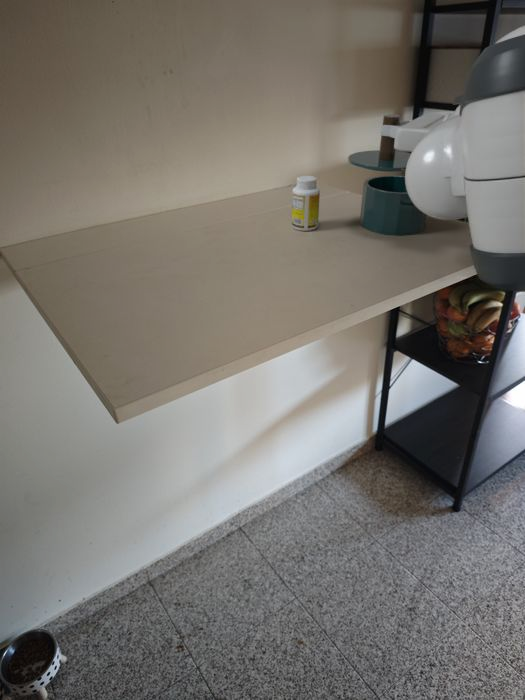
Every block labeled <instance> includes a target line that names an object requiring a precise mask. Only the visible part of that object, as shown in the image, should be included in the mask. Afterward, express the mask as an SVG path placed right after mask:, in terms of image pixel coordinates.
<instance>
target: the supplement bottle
mask: <svg viewBox="0 0 525 700" xmlns="http://www.w3.org/2000/svg"><path fill="white" fill-rule="evenodd" d="M320 193H321V190H320V188H319V187H318V186H317V177H315V176H312V175H301V176H298V177H297V178H296V186H294V187H293V189H292V198H291V199H292V200H291V202H292V203H291V206H292V207H291V226H292V228H293V229H295V230H297V231H300V232H310V231H313V230H315V229H317V228H318V227H319V213H320V197H321V196H320Z"/></svg>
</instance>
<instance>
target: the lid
mask: <svg viewBox="0 0 525 700" xmlns="http://www.w3.org/2000/svg"><path fill="white" fill-rule="evenodd" d="M382 118H383V119H382V126H383V125H385V124H391V125H395V126H399V123H400V121H401V116H400V115H399V114H384V115H383V117H382ZM394 141H395V138H392V137H390V136H382V135H381V134H380V144H379V149H378V150H364V151H363V150H362V151H357V152H354V153H352V154H349V156H348V157H347V161H348V163H349V164H350V165H353V166H355V167H358V168H362V169H365V170H370V171H375V172H376V171H377V172H390V173H391V172H405V170H406V166H407V162H408V159H409V157H410V155H411V153H412V152H406V151H399V150H396V149H394Z"/></svg>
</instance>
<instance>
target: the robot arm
mask: <svg viewBox="0 0 525 700" xmlns="http://www.w3.org/2000/svg"><path fill="white" fill-rule="evenodd" d="M452 105H453V106H454V105H458V106H457V107H456V109H455V110H451V111H448V110H447V111H430V112H426V113H424V114H422V115H420V116H418V117H416V118H414V119H408V120H400V123H399V126H395V125H391V124H385V125H383V124H382V125H381V127H380V136H381V135H382V136H390V137H392V138H395V141H394V149H396V151H399V152H406V153H411V155H410V157H409V159H408V162H407V166H406V170H405V171H404V176H405V185H406V190H407V192H408V195H409V197H410V199H411V201H412V202H413V204H414V205H415V206H416V207H417V208H418V209H419V210H420V211H422V212H423V213H425V214H426V215H427V217H431V218H433V219H437V220H443V221H446V220H447V221H451V220H453V221H454V220H460V219H466V218H467V220H468V226H469V231H470V237H471V242H472V243H471V244H470V245H469V252H470V256H471V261H472V264H473V266H474V270H475V272H476V274H477V276H478V278H479V280H480V281H481V282H483V283H485V284H487V285H489V286H490V287H492V288H495V289H498V290H502V291H508V292H518V293H525V25H522V26H520V27H517V28H516V29H514V30H513V31H510V32H509V33H507V34H505V35H504V36H503V37H501V38H500V39H498V40H497V41H496V42H495V43H493V44H491V45H489V46H486V47H485V48H484V49H483V50H482V51H481V53H480V55H479V56H478V57H477V58H476V60H475V61H474V63H473V65H472V66H471V67H470V69H469V71H468V73H467V77H466V80H465V83H464V86H463V90H462V92H461V94H459V95H457V96H455V97H454V100H453V103H452Z"/></svg>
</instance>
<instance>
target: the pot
mask: <svg viewBox="0 0 525 700" xmlns="http://www.w3.org/2000/svg"><path fill="white" fill-rule="evenodd" d="M362 185H363V188H362V195H361V204H360V215H359V224H360V226H361V227H362V228H364V229H365V230H368V231H369V232H372V233H376V234H380V235H388V236H409V235H415V234H418V233H420V232H422V231H424V230H425V228H426V224H427V223H426V222H427V217H428V215H426V214H425V213H423V212H422V211H420V210H419V209H418V208H417V207H416V206H415V205H414V204H413V202H412V201H411V199H410V197H409V195H408V192H407V190H406V185H405V175H397V174H396V175H395V174H393V175H378V176H372V177H369V178H367V179H365V180H364V182H363V184H362Z"/></svg>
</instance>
